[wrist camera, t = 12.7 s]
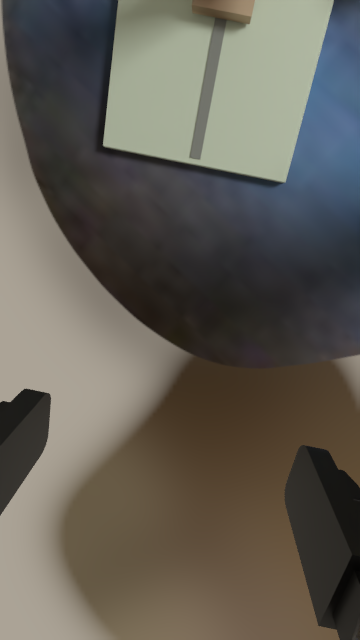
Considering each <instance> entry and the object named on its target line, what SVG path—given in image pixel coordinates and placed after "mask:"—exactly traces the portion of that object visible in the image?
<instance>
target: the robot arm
mask: <svg viewBox="0 0 360 640" xmlns="http://www.w3.org/2000/svg"><path fill="white" fill-rule="evenodd" d="M50 404H51V397H50V394H49V393H44V392H40V391H35V390H30V389H24V390H23V391H21V392H20V393H19V394H18V395H17V396H16V397H15V398H14V399H13V400H12V401H11V402H5V401H2V402H1V403H0V515H1V514H2V512H3V511H4V509H5V508H6V506H7V505H8V503H9V502H10V500H11V499H12V497H13V496H14V494H15V493H16V491H17V490H18V488H19V487H20V485H21V484H22V482H23V481H24V479H25V478H26V477H27V475H28V474H29V472H30V470H31V469H32V468H33V466H34V465H35V463H36V461H37V460H38V459H39V457H40V456H41V454H42V452H43V450H44V448H45V445H46V442H47V438H48V429H49V417H50ZM285 504H286V508H287V512H288V516H289V519H290V523H291V527H292V530H293V534H294V538H295V541H296V545H297V549H298V552H299V556H300V560H301V563H302V567H303V571H304V574H305V578H306V582H307V585H308V589H309V593H310V596H311V600H312V603H313V607H314V611H315V614H316V618H317V622H318V625H319V626H322V627H327V628H332V629H336V630H337V632H338V635H339V638H340V640H360V488H359V486H358V485H357V484H356V483H355V482H354V481H353V480H352V479H351V478H350V477H349V476H348V474H347V473H346V472H345V471H343V470H338V468H337V466H336V465H335V463H334V461H333V459H332V457H331V455H330V453H329V452H328V451H327V450H324V449H320V448H315V447H310V446H305V445H302V446H300V448H299V449H298V452H297V455H296V457H295V460H294V463H293V466H292V469H291V472H290V474H289V477H288V480H287V483H286V487H285Z"/></svg>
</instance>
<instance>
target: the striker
mask: <svg viewBox="0 0 360 640" xmlns="http://www.w3.org/2000/svg"><path fill="white" fill-rule="evenodd" d="M254 3H255V0H192V13H195V14H200V15H205V16H210V17H215V18H220V19H225V20H230V21H235V22H240V23H245V24H250V21H251V17H252V12H253V7H254Z"/></svg>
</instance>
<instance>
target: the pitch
mask: <svg viewBox="0 0 360 640" xmlns="http://www.w3.org/2000/svg"><path fill="white" fill-rule="evenodd" d="M333 2H334V0H255V3H254V7H253V12H252V17H251V21H250V24H245V23H240V22H235V21H230V20H225V19H220V18H215V17H210V16H205V15H200V14H195V13H192V0H118V9H117V18H116V27H115V37H114V46H113V56H112V65H111V74H110V84H109V93H108V103H107V112H106V122H105V131H104V140H103V146H104V147H105V148H110V149H115V150H120V151H125V152H130V153H135V154H140V155H145V156H150V157H155V158H160V159H165V160H170V161H175V162H180V163H185V164H190V165H195V166H200V167H205V168H210V169H215V170H220V171H225V172H230V173H235V174H240V175H245V176H250V177H255V178H260V179H265V180H270V181H275V182H280V183H285V182H286V178H287V175H288V171H289V167H290V163H291V160H292V156H293V152H294V148H295V145H296V141H297V137H298V133H299V130H300V126H301V122H302V118H303V115H304V111H305V107H306V103H307V100H308V96H309V92H310V88H311V85H312V81H313V77H314V73H315V70H316V66H317V62H318V58H319V55H320V51H321V47H322V43H323V40H324V36H325V32H326V28H327V25H328V21H329V17H330V14H331V10H332V6H333Z"/></svg>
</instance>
